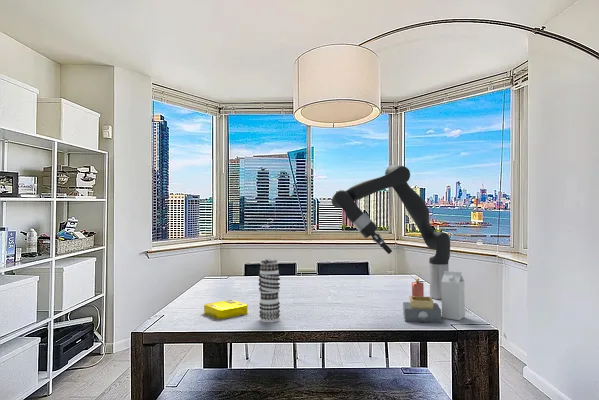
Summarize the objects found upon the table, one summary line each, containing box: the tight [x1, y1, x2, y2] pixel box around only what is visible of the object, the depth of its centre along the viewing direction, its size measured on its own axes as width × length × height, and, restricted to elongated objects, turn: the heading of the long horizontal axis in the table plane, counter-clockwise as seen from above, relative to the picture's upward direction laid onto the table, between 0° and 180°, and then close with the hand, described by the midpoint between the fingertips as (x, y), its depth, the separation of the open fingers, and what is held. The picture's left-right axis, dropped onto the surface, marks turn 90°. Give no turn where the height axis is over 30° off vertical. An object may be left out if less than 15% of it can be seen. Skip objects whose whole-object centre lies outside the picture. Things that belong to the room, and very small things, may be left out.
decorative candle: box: [257, 258, 281, 323], centre depth 170 cm, size 9×9×25 cm
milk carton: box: [441, 270, 466, 321], centre depth 170 cm, size 7×7×19 cm
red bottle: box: [411, 277, 425, 297], centre depth 183 cm, size 5×5×14 cm
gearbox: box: [402, 295, 442, 324], centre depth 169 cm, size 13×14×8 cm
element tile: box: [203, 299, 248, 320], centre depth 181 cm, size 15×15×5 cm
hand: (389, 251), depth 185 cm, fingers open, 8 cm apart
